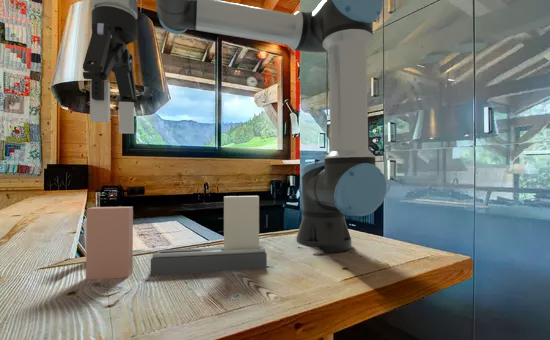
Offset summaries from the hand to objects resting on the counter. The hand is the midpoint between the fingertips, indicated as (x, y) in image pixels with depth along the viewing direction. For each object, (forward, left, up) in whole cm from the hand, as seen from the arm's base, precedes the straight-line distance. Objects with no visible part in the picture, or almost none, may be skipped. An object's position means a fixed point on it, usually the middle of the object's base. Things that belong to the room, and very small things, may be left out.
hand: (114, 128), depth 54 cm
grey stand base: (-18, -1, -29) cm, 34 cm away
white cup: (+7, -15, -29) cm, 34 cm away
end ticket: (+1, +1, -29) cm, 29 cm away
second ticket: (-24, -1, -27) cm, 36 cm away
